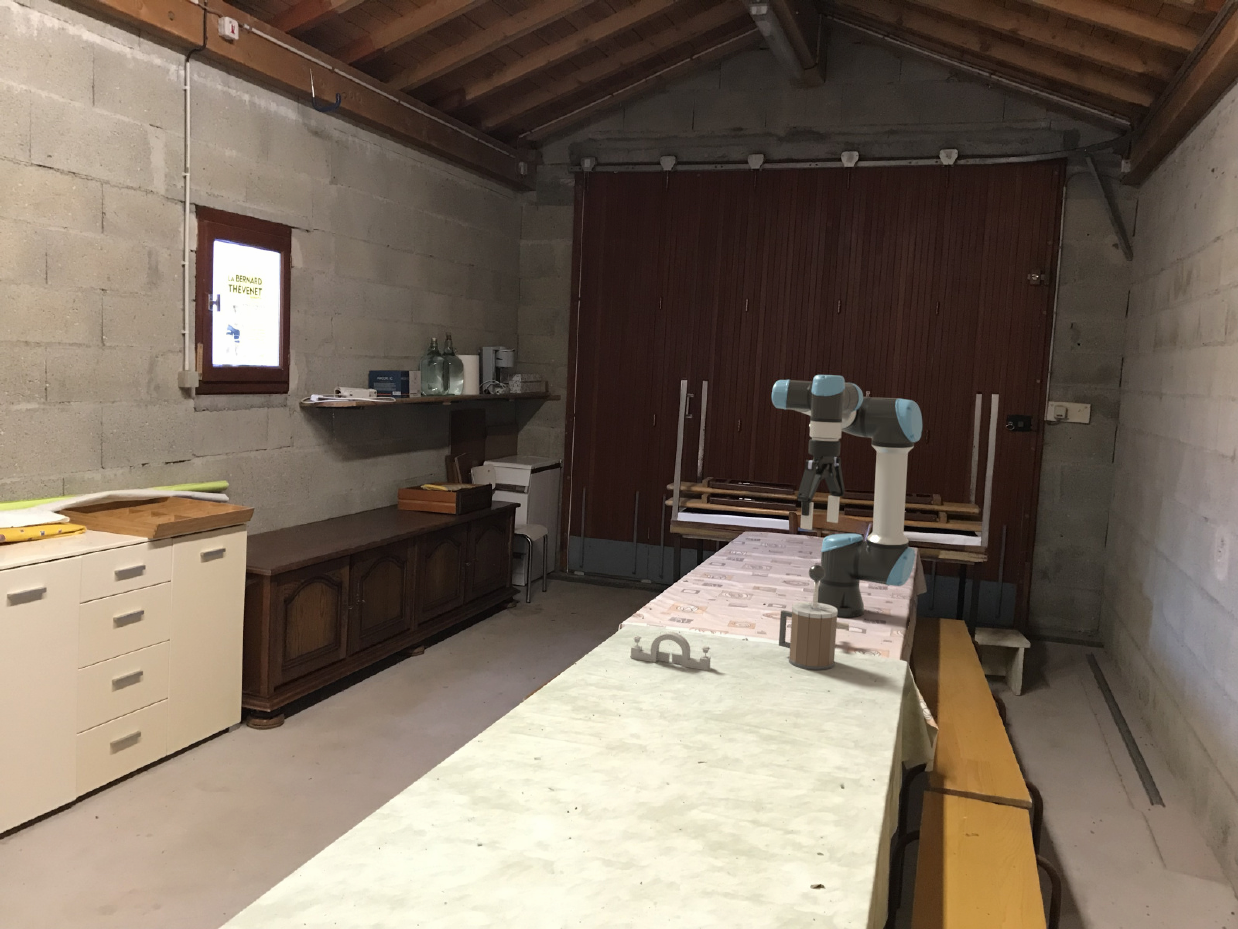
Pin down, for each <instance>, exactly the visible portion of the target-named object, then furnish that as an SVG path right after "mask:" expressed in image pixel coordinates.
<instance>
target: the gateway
mask: <svg viewBox="0 0 1238 929" xmlns="http://www.w3.org/2000/svg"><path fill="white" fill-rule="evenodd" d="M641 639H642V636H640V635H639V636H638V635H636V636H634V637H633V640H634V643H636V644H634V645H632V646H631V647H630V659H633V660H641V661H647V662H653V663H656V662H657V661H660V662H666V663H670V655H671V663H673V664H679V665H681V667H685V668H689V667H690V669H698V670H704V671H708V670H710V668H711V656H708V655H707V654H708V653H709V650H710V649H711V647H709V646H705V645H704V646H703V647H702V648H701V650H702V653H703V654H704V655H701V657H700V658H697V657H691V646H690V644H689V642H688V640H687V639H686V638H685V637H684V636H682V634H679V633H678V632H674V631H667V632H663V633H661V634H660V635H658V636H657V637H655V638H654V640H653V641H652V643H651V645H650V650H645V649H643V646H642V645H638V644H639V643H640V641H641ZM664 641H672V642H674V643H676V644H677V645H678V646H679V647H680V649H681V654H678V653H672V654H670V652H664V651H660V644H661V642H664Z"/></svg>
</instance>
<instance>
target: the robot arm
mask: <svg viewBox="0 0 1238 929" xmlns="http://www.w3.org/2000/svg"><path fill="white" fill-rule="evenodd" d="M771 402H772V404H773V406H774V407H775V408H776V409H783V410H786V411H787V410H792V411H795V412H799V413H801V414H804V415H808V416H809V417H810V419H809V420H810V422H809V425H808V427H809V437H810V439H809V440H808V454H809V455H811V456H813V457H812V458H813V459H811V460H809V459H806V460H805V464H804V465H805V466H804V472H803V475H802V478H801V482H800V484H799V489H798V491H797V495H796V499H797V502H801V508H800V509H801V512H800V513H801V514H800V529H804V530H810V531H811V530H813V522H814V520H813V519H814V518H813V517H814V502H812V501H813V499H814V497H815V494H816V492H817V490H818V487H819V486H820V482H821V481H823V480H824V481H825V483H826V485H827V488H828V491H829V494H830V495H828V497H827V498H828V499H827V513H826V522H829V523H834V524H838V523H839V512H840V499H841V498H842V497H844V496H845V490H846V489H845V484H844V476H843V471H842V466H841V465H842V458H841V457H839V456H840V454H841V445H842V444H841V443H842V442H841V441H840V439H842V432H844V433H846V434H850V435H852V436H856V437H859V438H860V437H861V438H868V439H871V447H872V448H873V449H874V450H875V451H876V458H875V459H876V460H875V461H876V462H875V476H874V477H875V480H874V500H873V516H872V518H873V519H872V520H873V521H872V532H871V533H870V534H869V535H868V536H867V537H866V541H865V540H864V537H863V535H862V534H859V533H837V534H829V535H827V536H825V537H824V538H823V540H822V544H821V550H820V566H822V567H823V568H824V570H825V577H824V578H823V579H822V580H820V581H819V588H818V603H823V604H827V605H831V606H834V607H835V608H837V611H838V613H837V618H838V617H841V618H853V617H859V616H862V615H864V611H865V610H864V609H865V606H864V604H865V603H864V601H863V597H862V593H861V589H860V581H862V582H863V581H864V582H868V583H869V582H870V583H874V584H881V585H885V586H887V587H888V586H889V587H890V586H894V587H902V586H903V585H905V584H906V583H907V582H908V580H909V579H910V577H911V575H912V572H913V568H914V564H915V559H916V552H915V549H914V548H912V547H910V546H909V539H908V538H907V536H906V535H905V534H904V531H905V530H904V528H905V511H906V510H905V509H906V494H907V493H906V491H907V475H908V474H907V472H908V459H909V458H908V455H909V452H910V451H911V450H912V449H914V447H915V443H916V442H918V441H920V439H921V437H922V432H923V416H922V412H921V409H920V406H919V405H918V403H917V402H915V401H914V400H912V399H906V398H905V399H904V398H895V397H873V396H872V397H871V396H864V393H863V391H862V389H861V388H860V386H858V385H857V384H856V383H852V382H846V381H845V378H844V376H843V375H833V374H817V375H814V377H813V379H812V381H810V380H809V381H808V380H807V381H806V380H796V379H795V380H793V379H792V380H791V379H779V380H777V381H776V382H775V383H774V384H773V387H772V392H771ZM840 497H841V498H840Z"/></svg>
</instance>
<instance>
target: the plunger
mask: <svg viewBox="0 0 1238 929" xmlns="http://www.w3.org/2000/svg"><path fill="white" fill-rule="evenodd" d="M808 576H809V578H810V579H811V581H812V580H813V590H812V602H813V605H812V609H816V610H817V604H818V588H819V583H820V580H822V579H823V578H824V577H825V570H824V568H823V567H822V566H821V564H814V565H812V566H811V567H809V570H808Z"/></svg>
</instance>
